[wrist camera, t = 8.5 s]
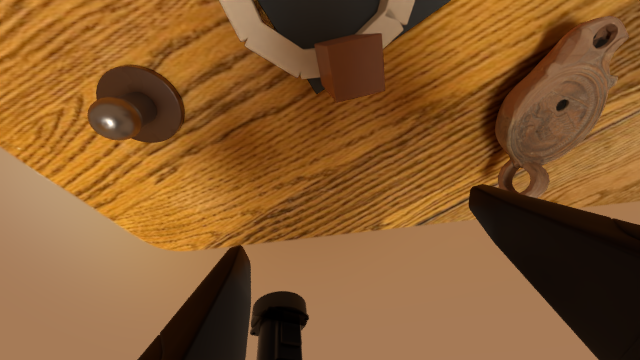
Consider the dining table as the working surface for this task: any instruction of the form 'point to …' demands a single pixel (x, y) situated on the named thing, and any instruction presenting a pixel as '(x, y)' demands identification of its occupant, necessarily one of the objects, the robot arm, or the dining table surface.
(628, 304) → the robot arm
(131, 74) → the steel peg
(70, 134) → the dining table surface
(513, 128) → the oil lamp
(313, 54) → the ivory ring
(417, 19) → the rubber mat
